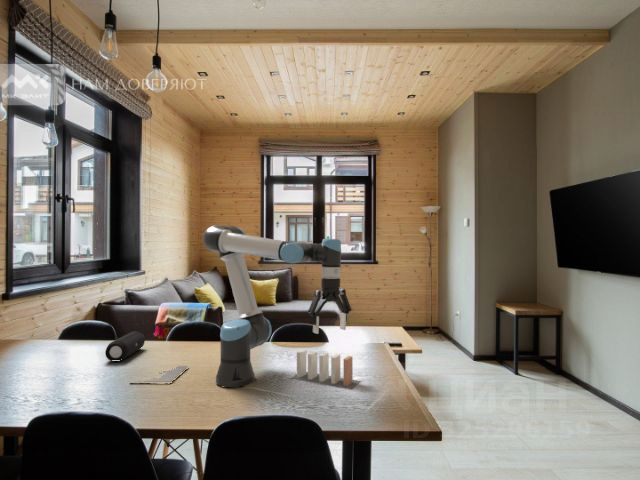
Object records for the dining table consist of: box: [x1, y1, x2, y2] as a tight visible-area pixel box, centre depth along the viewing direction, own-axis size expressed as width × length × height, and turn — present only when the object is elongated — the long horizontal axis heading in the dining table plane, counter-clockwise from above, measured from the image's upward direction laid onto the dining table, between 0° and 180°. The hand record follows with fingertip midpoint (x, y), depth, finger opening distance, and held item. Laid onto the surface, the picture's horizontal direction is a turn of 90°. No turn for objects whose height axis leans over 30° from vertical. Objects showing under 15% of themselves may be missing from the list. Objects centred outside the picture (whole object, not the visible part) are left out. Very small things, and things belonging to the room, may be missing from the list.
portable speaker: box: [104, 330, 146, 361], centre depth 190 cm, size 26×10×10 cm, turn 4°
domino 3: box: [318, 352, 330, 382], centre depth 154 cm, size 2×5×10 cm, turn 152°
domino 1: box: [296, 349, 307, 378], centre depth 159 cm, size 2×5×10 cm, turn 152°
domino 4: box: [330, 353, 341, 384], centre depth 151 cm, size 2×5×10 cm, turn 152°
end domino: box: [343, 355, 354, 386], centre depth 149 cm, size 2×5×10 cm, turn 152°
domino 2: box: [307, 350, 318, 380], centre depth 156 cm, size 2×5×10 cm, turn 152°
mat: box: [290, 371, 362, 391], centre depth 153 cm, size 27×10×1 cm, turn 62°
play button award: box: [138, 365, 189, 382], centre depth 160 cm, size 16×2×20 cm
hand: (329, 331), depth 153 cm, fingers open, 13 cm apart
